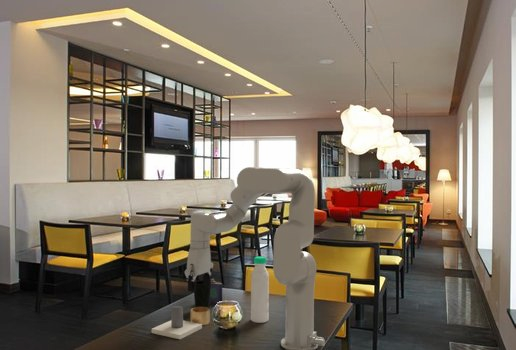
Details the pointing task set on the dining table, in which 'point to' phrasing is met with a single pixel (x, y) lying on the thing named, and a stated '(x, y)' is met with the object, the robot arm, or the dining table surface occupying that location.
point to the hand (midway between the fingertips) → (199, 288)
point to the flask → (215, 292)
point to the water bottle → (259, 291)
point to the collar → (200, 315)
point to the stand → (177, 325)
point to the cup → (202, 294)
